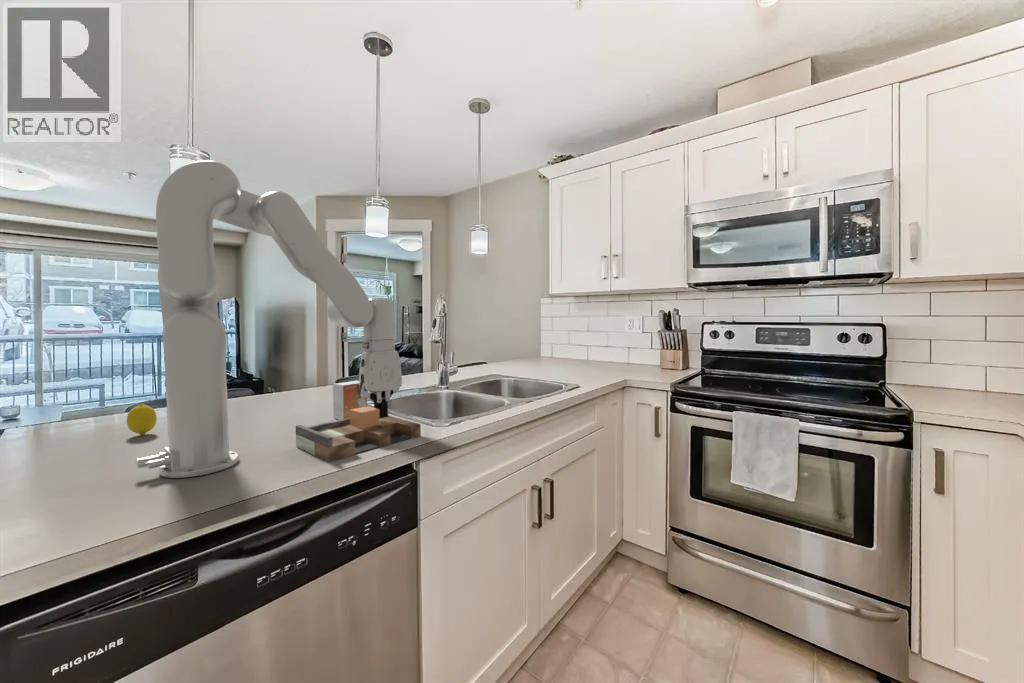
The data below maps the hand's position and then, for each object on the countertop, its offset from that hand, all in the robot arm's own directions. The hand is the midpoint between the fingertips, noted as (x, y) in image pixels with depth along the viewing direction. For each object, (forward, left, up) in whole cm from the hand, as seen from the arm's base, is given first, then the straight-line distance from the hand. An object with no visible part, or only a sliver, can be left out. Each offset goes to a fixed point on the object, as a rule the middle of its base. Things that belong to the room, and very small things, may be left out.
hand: (381, 416), depth 105 cm
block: (-5, 0, -1) cm, 5 cm away
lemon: (-40, +44, -5) cm, 59 cm away
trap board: (-7, -2, -4) cm, 9 cm away
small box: (+3, +21, -5) cm, 22 cm away
